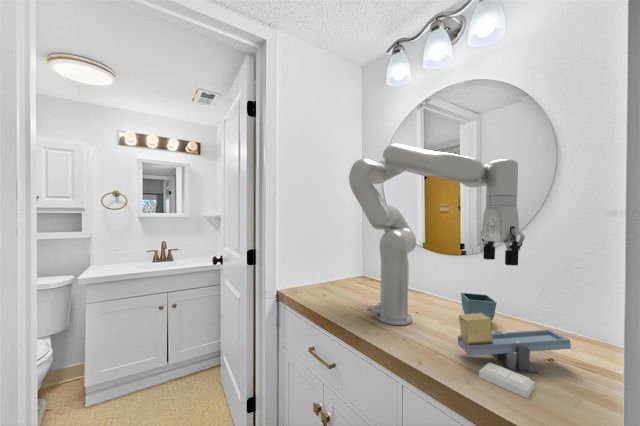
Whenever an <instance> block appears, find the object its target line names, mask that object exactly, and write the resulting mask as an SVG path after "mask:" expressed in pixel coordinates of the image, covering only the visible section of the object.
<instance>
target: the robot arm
mask: <svg viewBox="0 0 640 426" xmlns="http://www.w3.org/2000/svg"><path fill="white" fill-rule="evenodd" d="M518 163H519V162H517V161H516V160H515V159H509V158H506V159H495V160H491V161H490V162H488V163H484V164H483V163H482V162H481V161H480V160H478V159H476V158H473V157H469V156H464V155H460V154H455V153H451V152H450V153H449V152H443V151H436V150H430V149H424V148H419V147H415V146H409V145H405V144H401V143H392V144H389V145H388V146H386V147H385V149H384V150H383V153H382V160H381V161H378V162H377V161H375V160H372V159H370V158H361V159H357V160H356V161H355V162H354V163H353V164H352V166H351V168H350V171H349V174H348V184H349V187H350V189H351V191H352V194H353V195H354V198H355V199H356V200H357V202H358V204H359V205H360V208H361V210H362V212H363V213H364V215H365V216H366V218H367V220H368V223H369V224H370V225H371V227H372V228H374V229H375V230H378V231H380V230H381V231H384V233H383V234H382V236H381V237H380V240H379V254H380V294H379V295H380V298H379V299H380V300H379V302H377V304H375V305H373V304H372V305H369V304H368V305H366V311H367V312H371V313H373V314H375V318H376V319H377V320H378V321H380V322H382V323H384V324H389V325H392V326H405V325H406V326H407V325H409V324H412V322H413V316H412V315H411V314H409V311H408V308H409V278H410V277H409V275H410V274H409V258H408V254H410V253H412V252H413V251H414V250H415V249H416V245H417V238H416V236H415V234H414V232H413V230H412V228H411V227H410V225H409V224H408V222H407V220H406V219H405V217H404V216H403V214H402V213H401V211H400V210H399V209H398V207H395V206H394V205H393V206H392V205H389V204H387V203H386V202H385V200H384V199H383V197H382V196H381V194H380V192H379V191H378V189H377V188H376V187H375V186H374V185H380V184H383V183H385V182H386V181H388V180H391V179H393V178H394V177H397V176H399V175H400V174H402V173H404V172H408V173H412V174H415V175H418V176H421V177H429V176H430V177H431V176H432V177H437V178H441V179H447V180H450V181H453V182H457V183H460V184H463V185H464V186H465V187H467V188H468V187H469V188H481V187H486V188H485V191H486V194H485V209H484V210H483V211H484V212H483V217H482V224H481V225H482V226H481V230H480V237H481V241H482V246H483V260H491V261H492V260H495V259H496V246H494V245H495V244H496V243H503V244H504V245H505V247H506V249H505V252H504V264H505V265H506V266H519V252H520V251H521V247H523V242H524V240H525V238H526V236H525V234H523V233H522V232H521V231H520V221H519V219H520V218H519V211H518V183H519V182H518V181H519V180H518V179H519V176H518V175H519V164H518Z"/></svg>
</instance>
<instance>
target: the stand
mask: <svg viewBox="0 0 640 426" xmlns="http://www.w3.org/2000/svg"><path fill="white" fill-rule="evenodd" d="M495 333H502V332H501V331H495ZM530 354H531V352H530V349H528V348H527V347H516V353H501V354H491V355H492V356H493V358H495V359H496V360H497V361H498V362H499V363H500V364H502V365H503V366H504V368H505V369H508V370H511V371H513V372H516V373H518V374H535V375H538V374H539V371H538V370H537V369H536V368H534V367H533V366H532V365H530V361H531V360H530V357H531V356H530Z"/></svg>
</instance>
